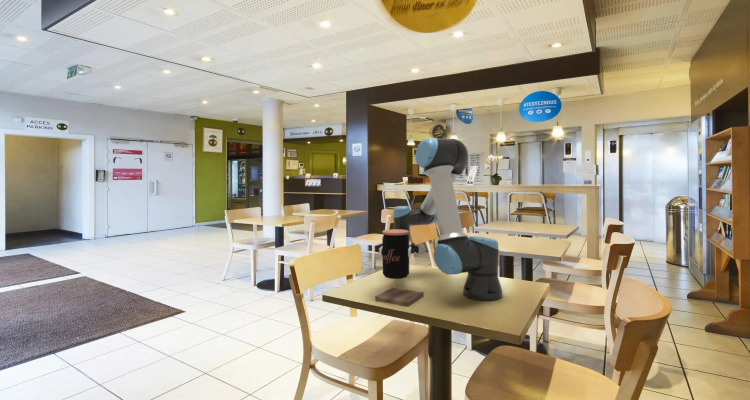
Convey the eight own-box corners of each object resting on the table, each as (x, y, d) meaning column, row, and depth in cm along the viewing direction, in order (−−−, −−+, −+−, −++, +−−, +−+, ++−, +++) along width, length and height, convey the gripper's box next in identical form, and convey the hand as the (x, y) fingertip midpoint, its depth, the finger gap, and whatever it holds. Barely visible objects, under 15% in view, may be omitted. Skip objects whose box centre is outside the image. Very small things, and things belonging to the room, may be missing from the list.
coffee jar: (377, 275, 154) (376, 231, 152) (395, 271, 161) (395, 228, 160) (395, 280, 146) (395, 233, 144) (414, 275, 153) (414, 231, 152)
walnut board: (423, 296, 152) (423, 292, 152) (408, 306, 140) (408, 302, 140) (392, 290, 159) (392, 287, 159) (375, 300, 147) (375, 296, 147)
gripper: (426, 252, 169) (424, 263, 147) (374, 251, 172) (365, 261, 150) (426, 235, 168) (424, 243, 146) (374, 234, 172) (365, 242, 150)
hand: (394, 252), depth 148 cm, fingers closed on coffee jar, 11 cm apart
